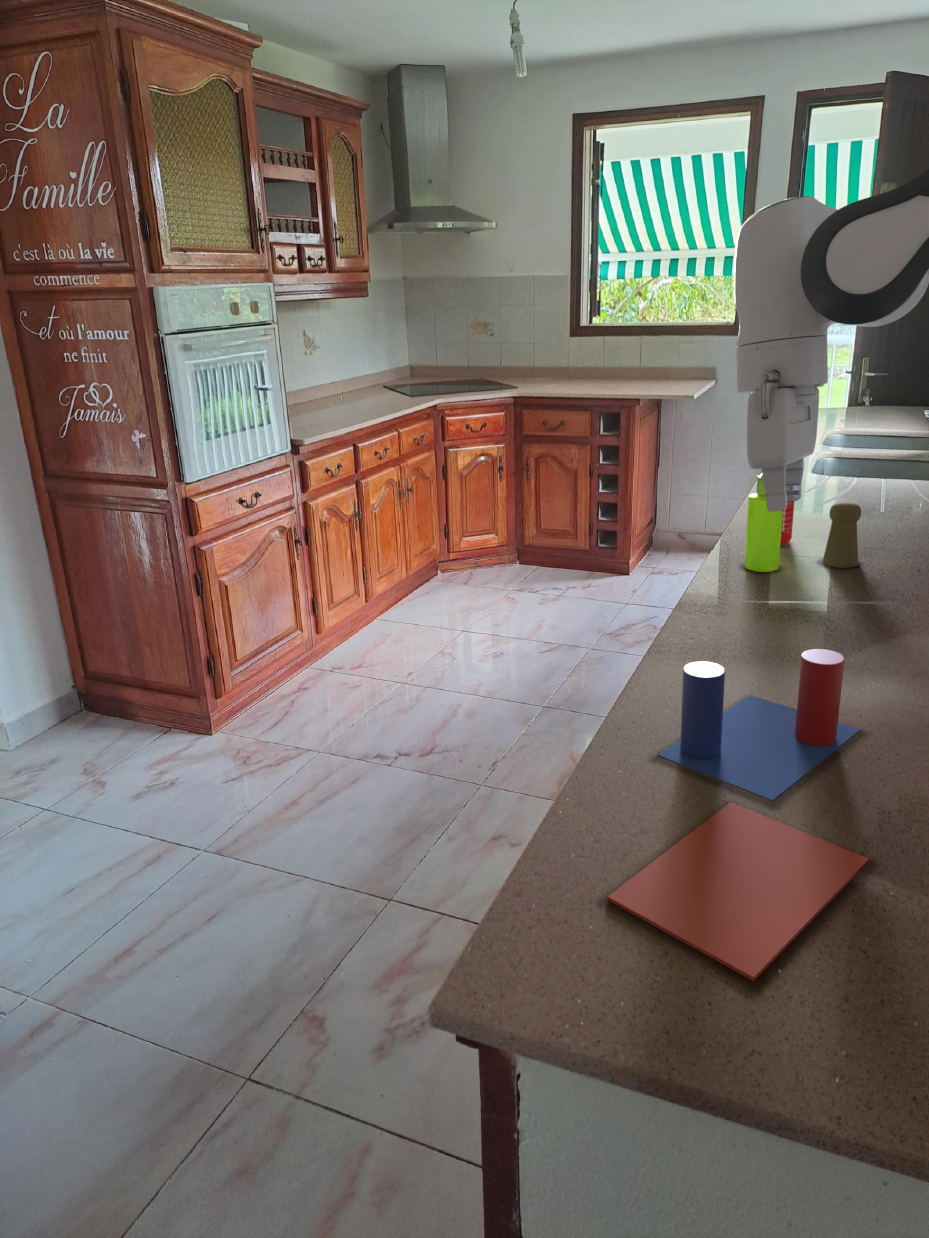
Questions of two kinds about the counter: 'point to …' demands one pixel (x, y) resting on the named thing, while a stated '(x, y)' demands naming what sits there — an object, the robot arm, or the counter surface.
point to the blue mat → (761, 749)
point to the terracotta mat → (739, 887)
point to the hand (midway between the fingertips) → (784, 505)
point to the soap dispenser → (762, 533)
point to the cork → (843, 536)
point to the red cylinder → (819, 696)
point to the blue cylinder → (702, 710)
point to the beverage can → (787, 523)
